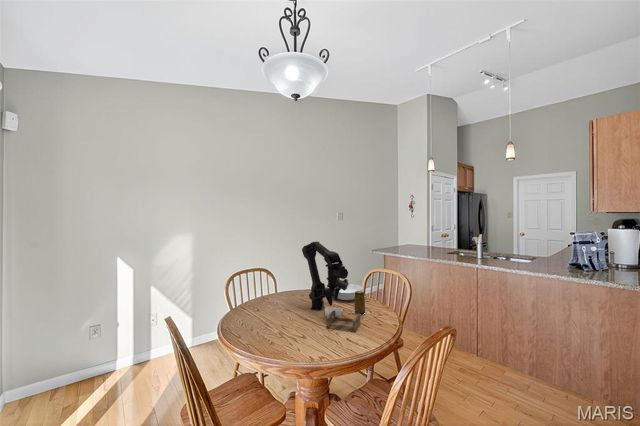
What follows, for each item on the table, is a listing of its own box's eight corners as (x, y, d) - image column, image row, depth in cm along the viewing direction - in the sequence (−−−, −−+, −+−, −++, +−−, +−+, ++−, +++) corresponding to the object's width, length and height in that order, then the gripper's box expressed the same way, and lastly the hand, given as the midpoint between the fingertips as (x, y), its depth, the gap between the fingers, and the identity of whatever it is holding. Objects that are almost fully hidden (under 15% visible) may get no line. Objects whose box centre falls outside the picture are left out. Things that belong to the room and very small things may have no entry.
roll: (324, 317, 169) (324, 308, 169) (327, 314, 174) (327, 305, 174) (340, 319, 166) (340, 310, 165) (343, 316, 170) (343, 307, 170)
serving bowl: (357, 292, 214) (357, 282, 214) (367, 301, 194) (366, 291, 193) (328, 294, 211) (328, 285, 210) (335, 304, 190) (335, 293, 190)
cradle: (326, 328, 154) (326, 317, 154) (333, 320, 164) (333, 310, 164) (355, 332, 148) (355, 321, 148) (360, 323, 159) (360, 313, 158)
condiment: (359, 309, 180) (359, 289, 180) (370, 313, 173) (370, 292, 173) (351, 312, 175) (350, 292, 175) (361, 316, 169) (361, 295, 168)
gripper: (341, 280, 157) (342, 310, 158) (351, 272, 175) (351, 299, 175) (321, 279, 161) (322, 308, 162) (332, 271, 179) (333, 297, 179)
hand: (333, 303), depth 170 cm, fingers open, 9 cm apart
